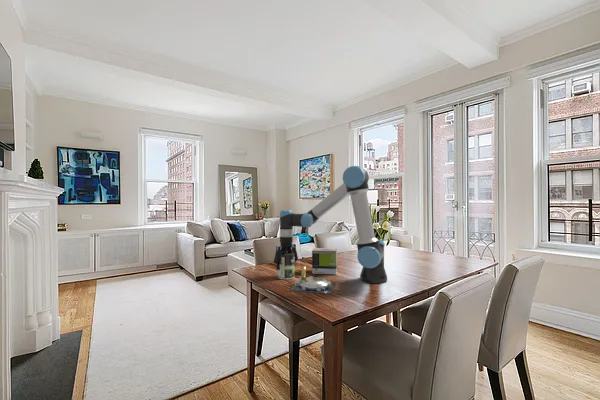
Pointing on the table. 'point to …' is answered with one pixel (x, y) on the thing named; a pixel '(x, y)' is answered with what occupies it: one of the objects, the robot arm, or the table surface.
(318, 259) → the tea box
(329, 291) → the base plate
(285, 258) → the coffee can
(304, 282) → the sprocket
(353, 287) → the table surface
